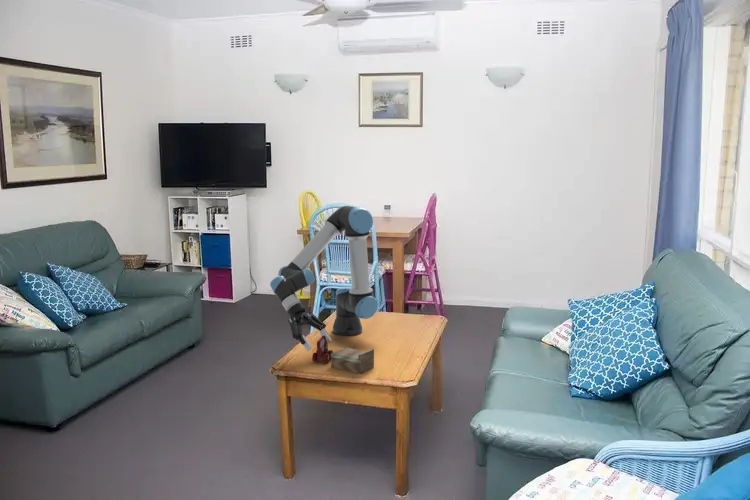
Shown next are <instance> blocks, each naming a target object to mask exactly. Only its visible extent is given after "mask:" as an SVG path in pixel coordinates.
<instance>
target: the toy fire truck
mask: <svg viewBox="0 0 750 500" xmlns="http://www.w3.org/2000/svg"><path fill="white" fill-rule="evenodd" d="M316 348H317V349H316V352H313V353H312V356H311V358H312V359H311V360H312V362H313V363H317V362H318V361H323V362H324V363H325V364H329V363H330V360H331V353H333V352H334V351H333V350H332V349H329V343H328V344H327V339H326V337H325V336H321V337H319V339H317V341H316Z"/></svg>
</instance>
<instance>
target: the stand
mask: <svg viewBox="0 0 750 500" xmlns="http://www.w3.org/2000/svg"><path fill="white" fill-rule="evenodd" d="M330 361H331V363H330V366H331V368H335V369H338V370H342V371H346V372H350V373H354V374H359V375H362V374H363V373H365V372H368V371H369V370H372V369H373V368H375V349H374V348H371V349H368V350H366V351H363V350H358V349H355V348H349V347H343V348H341V349H339V350H336V351H333V353H331V359H330Z"/></svg>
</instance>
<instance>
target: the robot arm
mask: <svg viewBox="0 0 750 500" xmlns="http://www.w3.org/2000/svg"><path fill="white" fill-rule="evenodd" d="M373 223H374V219H373V216H372V214H371V212H370V211H369V210H368V209H366V208H363V207H360V206H353V205H352V206H351V205H344V206H340V207H339V208H338V209H336V210H335V211H333V213H332V214H331V215H330V216H329V217H328V218H327V219H326V220H325V221H324V225H323V226H322V227H321V228H320V230H319V231H318V232H317V233H316V234H315V235H314V236H313V237H312V238H311V240H310V241H309V242H307V244H306V245H305V246H304V247H303V248H302V249H301V251H299V253H298V254H296V256H295V257H294V258H293V259H292V260H291V261H290V262H289V264H288V265H285V266H282V267H280V268H279V270H278V274H277V275H278V276H275V278H273V279H272V280H271V282H270V284H269V286H270V288H271V290H272V292H273V294H274V295H275V296H276V297H277V299H278V300H279V302H280V303H281V304H282V306H283V308H284V309H285V311H286V313H287V314H288V315H289V317H290V318H289V319H288V321H287V322H288V323H289V326H290V330H291V334H292V335H291V336H292V338H293V339H294V340H296V341H299V343H300V344H301V345H303V347H304V349H305V351H307V352H309V351H310V350H311V349H313V347H312V346H311V345H312V344H310V342H309V341H308V339H307V337H306V336H305V335H304V334H303V326H304V325H305V326H306V325H308V326H311V327H312V328H314V329H316V330H318V331H319V334H320V335H321V337H322V336H325V337H326V339H327V344H328V345H329V344H330V342H332V339H331V337H330V335H329V333H328V331H326V329H325V328H326V327H327V324H326V323H324V321H322V320H321V319H320V318H318V316H316V315H315V314H314V313H313V312H312V311H311V310H310V311H309V312H308V313H307V312H306V308H305V306H304V304H303V303H302V302H301V300H300V298H299V297H298V296H297V294H296V293H297V292H299V291H301V290H302V289H305V288H306V287H309V286H310V285H312V284H314V282H316V281H315V275H314V273H313V271H312V270H311V269H310V268H308V267H309V266H310V265H311V264H312V263H313V262H314V260H315V259H316V258H317V257H318V256H319V255H320V254H321V253H322V251H324V249H326V248H327V246H328V245H329V244H330V243H331V242H332V241H333V239H335V237H336V236H340V235H341V234H342V233H343V232H344V236H345V238H346V239H347V240H348V250H349V263H350V281H351V286H341V287H338V288H337V289H336V294H335V298H336V299H335V300H336V301H335V307H336V309H335V310H336V311H335V319H334V323H333V325H332V333H334V334H336V335H338V336H339V335H341V336H354V335H355V336H356V335H359V334H361V333H363V325H362V321H361V319H363V320H369V319H370V318H372V317H374V315H375V314H376V313H377V312H378V308H379V302H378V300H377V298H376V297H375V296H374V290H373V288H372V287H371V286H370V275H369V274H370V273H369V259H368V245H367V244H368V240H367V239H368V237H369V235H370V231H371V229H372V227H373Z"/></svg>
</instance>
